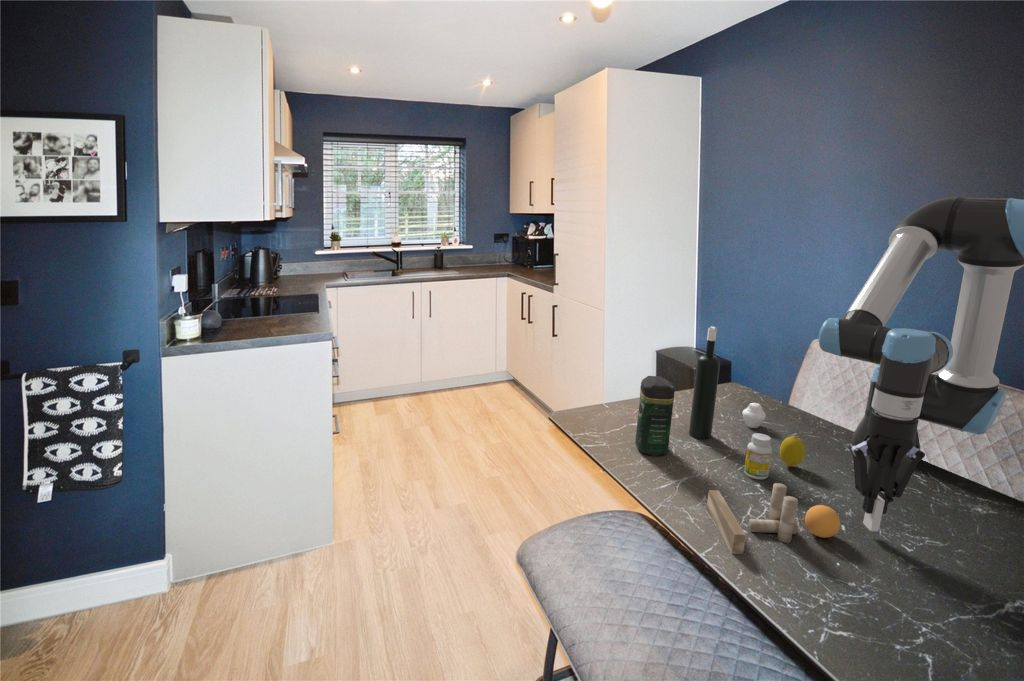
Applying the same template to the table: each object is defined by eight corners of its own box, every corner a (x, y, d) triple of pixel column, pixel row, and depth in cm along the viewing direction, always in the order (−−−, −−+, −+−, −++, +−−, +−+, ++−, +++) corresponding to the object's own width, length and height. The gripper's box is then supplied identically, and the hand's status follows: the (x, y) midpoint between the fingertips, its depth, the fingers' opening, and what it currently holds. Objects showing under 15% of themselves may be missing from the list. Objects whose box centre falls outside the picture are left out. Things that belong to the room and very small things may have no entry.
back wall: (716, 507, 122) (718, 490, 121) (742, 554, 107) (745, 534, 106) (706, 507, 122) (708, 490, 121) (731, 553, 107) (734, 534, 106)
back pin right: (777, 521, 118) (783, 483, 116) (782, 528, 116) (788, 489, 114) (765, 521, 118) (771, 482, 116) (770, 527, 116) (776, 488, 114)
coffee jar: (671, 457, 145) (679, 386, 140) (639, 456, 145) (645, 385, 140) (663, 441, 154) (670, 373, 150) (632, 439, 154) (638, 372, 150)
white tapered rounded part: (761, 423, 169) (765, 400, 167) (766, 431, 163) (769, 407, 161) (739, 420, 170) (742, 398, 168) (742, 429, 164) (746, 405, 162)
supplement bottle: (763, 482, 134) (769, 443, 131) (740, 474, 137) (745, 436, 135) (771, 474, 138) (777, 436, 135) (748, 467, 141) (753, 430, 139)
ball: (794, 508, 116) (807, 530, 117) (808, 525, 110) (822, 549, 111) (822, 493, 115) (835, 517, 116) (838, 510, 109) (851, 534, 110)
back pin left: (787, 535, 113) (794, 496, 111) (793, 543, 111) (800, 502, 109) (775, 535, 113) (781, 495, 111) (780, 542, 111) (787, 502, 109)
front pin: (793, 518, 115) (749, 516, 115) (798, 525, 113) (753, 523, 113) (791, 529, 116) (747, 527, 116) (796, 536, 113) (752, 534, 114)
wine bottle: (685, 430, 161) (697, 324, 154) (705, 430, 162) (718, 324, 154) (693, 439, 156) (706, 329, 148) (714, 439, 157) (728, 329, 149)
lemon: (805, 473, 139) (810, 442, 137) (780, 470, 140) (785, 439, 138) (799, 462, 144) (804, 432, 142) (775, 460, 145) (779, 430, 143)
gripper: (870, 419, 104) (846, 536, 110) (944, 422, 104) (917, 540, 110) (847, 404, 111) (827, 515, 117) (917, 407, 111) (893, 518, 117)
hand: (870, 527), depth 114 cm, fingers closed
